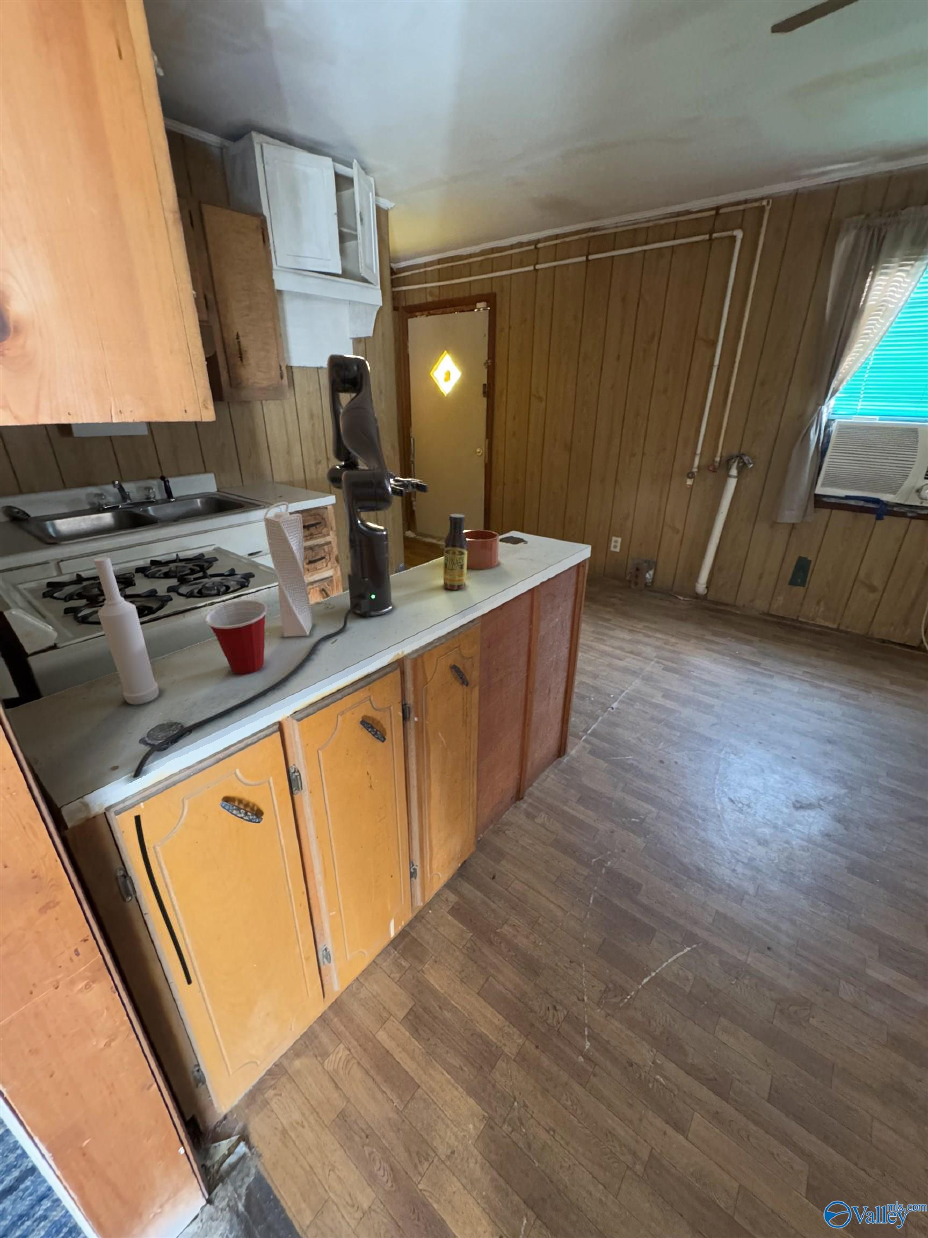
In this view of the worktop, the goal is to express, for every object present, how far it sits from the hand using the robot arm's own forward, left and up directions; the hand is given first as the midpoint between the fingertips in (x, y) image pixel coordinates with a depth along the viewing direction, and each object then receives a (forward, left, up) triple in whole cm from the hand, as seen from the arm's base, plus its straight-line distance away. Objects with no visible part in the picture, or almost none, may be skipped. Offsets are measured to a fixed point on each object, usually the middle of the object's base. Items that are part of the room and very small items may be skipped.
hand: (415, 490), depth 137 cm
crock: (+21, -5, -24) cm, 33 cm away
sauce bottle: (0, -14, -25) cm, 28 cm away
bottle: (-77, -9, -25) cm, 81 cm away
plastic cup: (-60, -13, -25) cm, 66 cm away
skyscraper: (-44, -6, -25) cm, 51 cm away
